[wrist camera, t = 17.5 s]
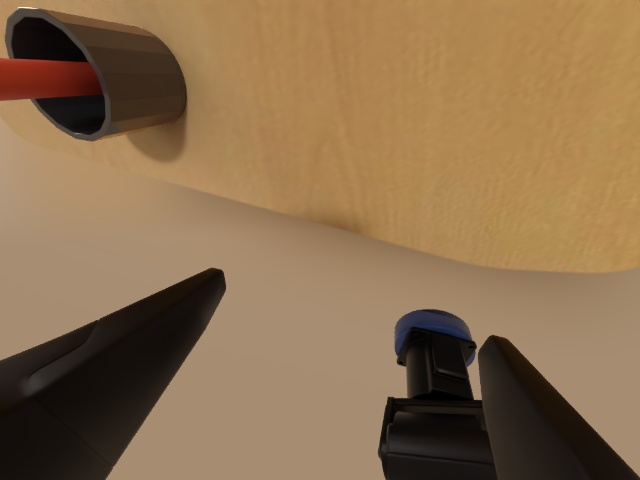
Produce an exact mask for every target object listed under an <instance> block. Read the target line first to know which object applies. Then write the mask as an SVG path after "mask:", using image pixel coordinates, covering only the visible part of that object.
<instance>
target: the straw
mask: <svg viewBox="0 0 640 480" xmlns="http://www.w3.org/2000/svg"><path fill="white" fill-rule="evenodd" d="M101 94H103V92H102V89H101V86H100V83H99V80H98V77H97V75H96V73H95V71H94V70H93V68H92V67H91V65H90V63H89V62H72V61H50V60H28V59H6V58H0V101H4V100H20V99H36V98H53V97H69V96H85V95H101Z"/></svg>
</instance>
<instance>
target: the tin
mask: <svg viewBox="0 0 640 480" xmlns="http://www.w3.org/2000/svg"><path fill="white" fill-rule="evenodd" d="M5 43H6V47H7V51H8V56H9V59H28V60H50V61H72V62H89V63H90V65H91V67H92V68H93V70H94V71H95V73H96V75H97V77H98V80H99V83H100V86H101V89H102V92H103V94H101V95H85V96H69V97H53V98H36V99H31V101H32V102H33V103H34V105H35V106H36V108H37V109H38V110H39V111H40V112H41V113H42V114H43V115H44V116H45V117H46V118H47V119H48V120H49V121H50V122H51V123H52V124H54V125H55V126H56V127H57V128H58V129H60V130H61V131H63V132H65V133H67V134H68V135H70V136H72V137H74V138H76V139H80V140H86V141H98V140H102V139H107V138H111V137H116V136H121V135H125V134H130V133H135V132H139V131H144V130H149V129H153V128H158V127H163V126H165V125H168V124H172V123H174V122H175V121H177V120H178V119H179V117H180V116H181V115H182V113H183V111H184V108H185V103H186V88H185V82H184V78H183V75H182V72H181V69H180V67H179V65H178V63H177V61H176V59H175V57H174V56H173V54H172V53H171V51H170V50H169V49H168V48H167V46H166V45H165V44H164V43H163V42H162V41H161V40H160V39H159V38H157V37H156V36H155V35H153V34H152V33H150V32H148V31H146V30H144V29H141V28H139V27H134V26H129V25H124V24H118V23H113V22H108V21H103V20H97V19H92V18H87V17H82V16H76V15H71V14H66V13H61V12H55V11H50V10H45V9H39V8H25V7H20V8H18V9H17V10H16V11H15V12H14V13H13V14H12V15H11V16H9V17H8V19H7V25H6V32H5Z"/></svg>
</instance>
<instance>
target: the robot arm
mask: <svg viewBox="0 0 640 480" xmlns="http://www.w3.org/2000/svg"><path fill="white" fill-rule="evenodd" d="M225 291H226V283H225V277H224V273H223V271H222V270H220V269H216V268H210V269H207V270H205V271H203V272H201V273H199V274H196V275H194V276H192V277H190V278H188V279H185V280H183V281H181V282H179V283H177V284H175V285H173V286H170V287H168V288H166V289H164V290H162V291H159V292H157V293H155V294H153V295H151V296H149V297H146V298H144V299H142V300H140V301H137V302H135V303H133V304H131V305H129V306H127V307H124V308H122V309H120V310H118V311H116V312H113V313H111V314H109V315H107V316H105V317H103V318H100V319H99V320H96V321H94V322H91V323H89V324H87V325H85V326H83V327H80V328H78V329H76V330H74V331H72V332H69V333H67V334H65V335H62V336H60V337H58V338H55V339H53V340H51V341H48V342H46V343H43V344H41V345H38V346H36V347H33V348H31V349H28V350H26V351H23V352H21V353H18V354H16V355H13V356H11V357H8V358H6V359H3V360H1V361H0V480H106V478H107V477H108V475H109V474H110V472H111V471H112V469H113V467H114V466H115V464H116V463H117V461H118V460H119V458H120V457H121V455H122V454H123V452H124V451H125V449H126V448H127V446H128V445H129V443H130V442H131V440H132V439H133V437H134V436H135V434H136V433H137V431H138V430H139V428H140V427H141V425H142V424H143V422H144V421H145V419H146V417H147V416H148V415H149V413H150V412H151V410H152V409H153V407H154V406H155V404H156V403H157V401H158V400H159V398H160V397H161V395H162V394H163V392H164V391H165V389H166V388H167V386H168V385H169V383H170V382H171V380H172V379H173V377H174V376H175V374H176V373H177V371H178V370H179V368H180V367H181V365H182V364H183V362H184V361H185V359H186V357H187V356H188V355H189V353H190V352H191V350H192V349H193V347H194V346H195V344H196V343H197V341H198V340H199V338H200V337H201V335H202V334H203V332H204V330H205V329H206V327H207V325H208V324H209V322H210V320H211V318H212V316H213V314H214V312H215V310H216V308H217V306H218V304H219V303H220V300H221V299H222V297H223V295H224V293H225ZM476 348H477V346H476V343H475V342H474V341H472V340H468V339H463V338H459V337H455V336H451V335H447V334H443V333H439V332H435V331H431V330H427V329H423V328H419V327H411V328H410V329H409V331H408V334H407V336H406V338H405V341H404V343H403V345H402V348H401V350H400V352H399V355H398V357H397V364H398V365H401V366H406V369H407V396H408V397H407V398H394V397H388V400H387V405H386V408H385V413H384V420H383V425H382V431H381V437H380V444H379V448H378V456H379V458H380V459H381V461H382V467H383V472H384V476H385V479H386V480H640V477H639V476H638V475H637V474H636V473H635V472H634V471H633V470H632V469H631V468H630V467H629V466H628V465H627V464H626V463H625V462H624V460H623V459H621V457H620V456H619V455H618V454H617V453H616V452H615V451H614V450H613V449H612V448H611V447H610V446H609V445H608V444H607V443H606V442H605V441H604V439H603V438H602V437H601V436H600V435H599V434H598V433H597V432H596V431H595V430H594V429H593V428H592V427H591V426H590V425H589V424H588V423H587V422H586V421H585V420H584V419H583V417H582V416H581V415H580V414H579V413H578V412H577V411H576V410H575V409H574V408H573V407H572V406H571V405H570V404H569V403H568V402H567V401H566V400H565V399H564V398H563V397H562V395H561V394H560V393H559V392H558V391H557V390H556V389H555V388H554V387H553V386H552V385H551V384H550V383H549V382H548V381H547V380H546V379H545V378H544V377H543V376H542V375H541V373H539V371H538V370H537V369H536V368H535V367H534V366H533V365H532V364H531V363H530V362H529V361H528V360H527V359H526V358H525V357H524V356H523V355H522V354H521V353H520V352H519V350H518V349H517V348H516V347H515V346H514V345H513V344H512V343H511V342H510V341H509V340H508V339H506V338H503V337H499V336H495V335H491V336H489V337H488V339H487V340H486V341H485V343H484V344H483V346H482V347H481V348H480V350H479V352H478V363H479V374H480V384H481V394H482V400H474V397H473V393H472V389H471V385H470V380H469V375H468V371H467V366H466V363H467V361H468V360H469V358H470V357H471V355H472V354H473V353H474V351H475V349H476Z"/></svg>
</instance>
